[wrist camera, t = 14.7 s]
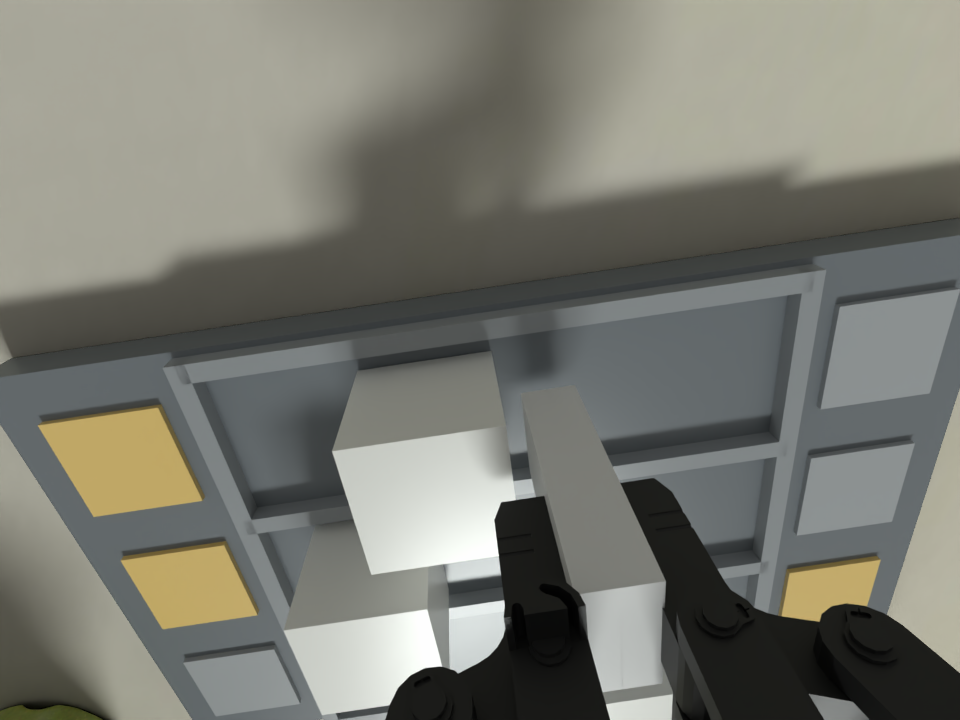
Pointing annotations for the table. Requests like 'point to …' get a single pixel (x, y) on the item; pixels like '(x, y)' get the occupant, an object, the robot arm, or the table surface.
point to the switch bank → (510, 438)
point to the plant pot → (46, 713)
